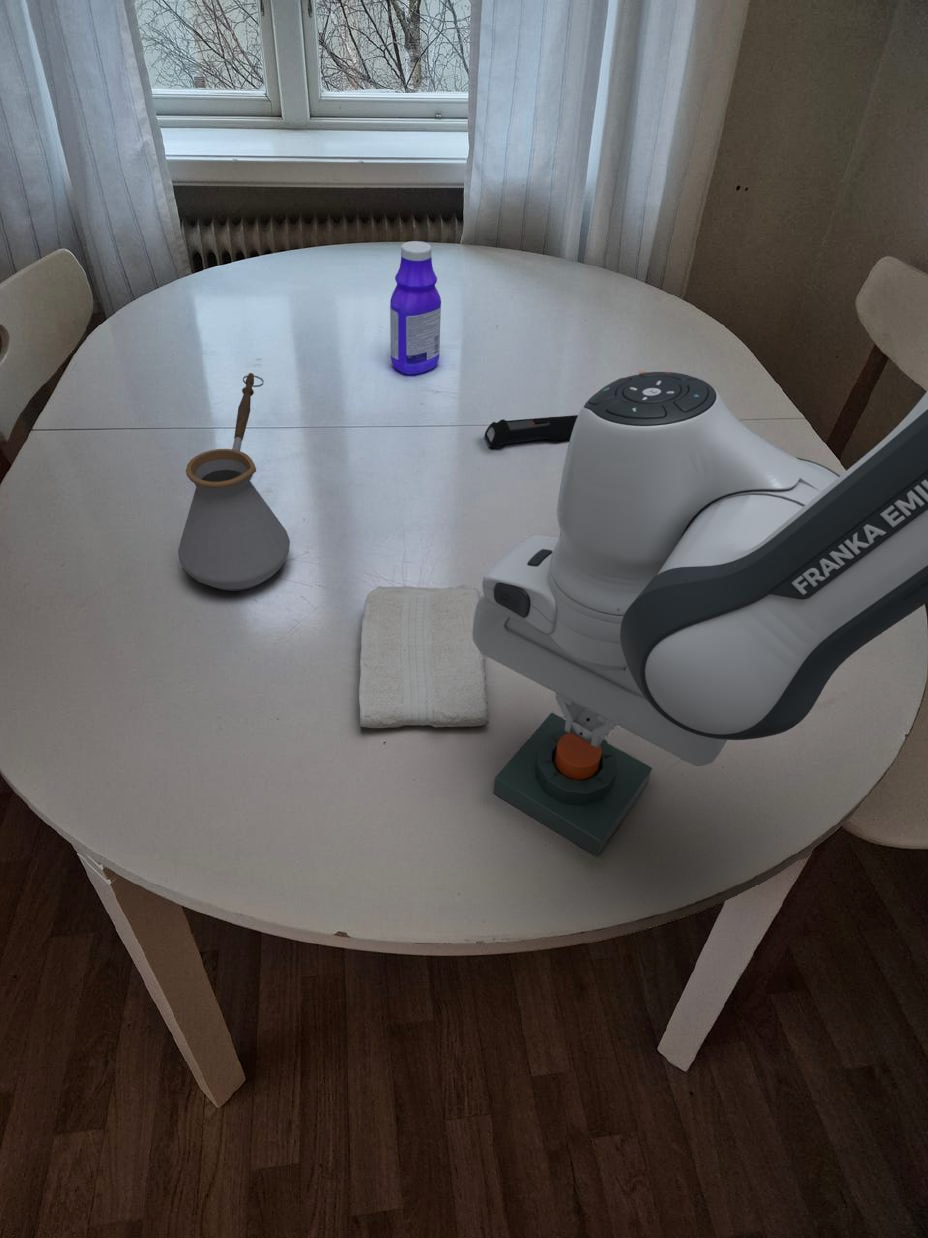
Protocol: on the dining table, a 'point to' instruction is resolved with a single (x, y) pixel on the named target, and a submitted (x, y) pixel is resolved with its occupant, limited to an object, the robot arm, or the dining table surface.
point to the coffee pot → (231, 517)
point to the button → (577, 757)
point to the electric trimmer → (529, 430)
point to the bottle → (415, 311)
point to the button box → (572, 788)
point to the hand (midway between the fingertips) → (585, 734)
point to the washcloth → (421, 659)
